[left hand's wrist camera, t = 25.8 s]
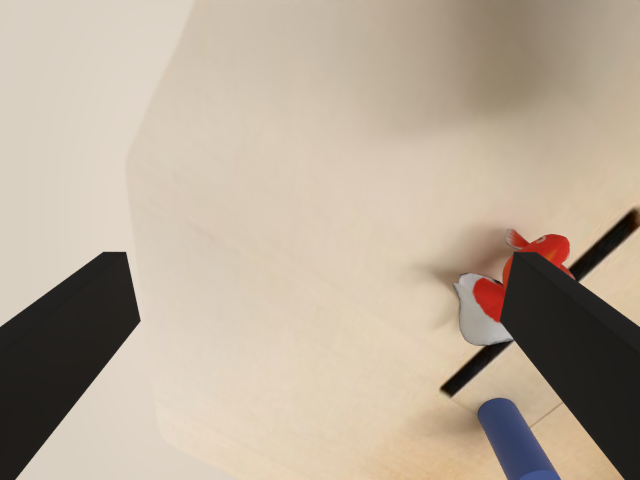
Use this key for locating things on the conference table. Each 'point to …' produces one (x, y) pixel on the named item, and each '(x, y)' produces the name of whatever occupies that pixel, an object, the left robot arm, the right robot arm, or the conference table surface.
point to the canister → (514, 442)
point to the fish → (500, 290)
